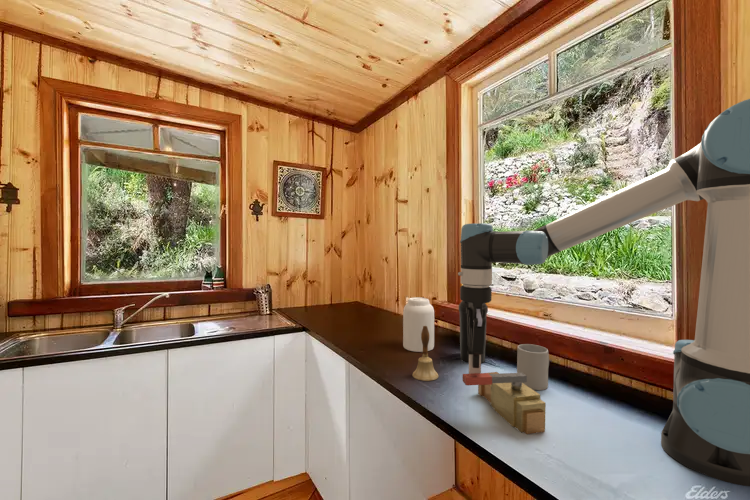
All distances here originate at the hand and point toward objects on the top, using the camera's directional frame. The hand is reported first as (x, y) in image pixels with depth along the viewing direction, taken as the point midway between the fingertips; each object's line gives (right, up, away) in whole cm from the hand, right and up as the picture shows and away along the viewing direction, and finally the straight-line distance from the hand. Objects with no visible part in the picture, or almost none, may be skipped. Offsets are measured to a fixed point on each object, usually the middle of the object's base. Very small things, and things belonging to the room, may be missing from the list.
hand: (474, 378), depth 83 cm
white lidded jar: (-7, -7, +51) cm, 52 cm away
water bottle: (+11, -8, +37) cm, 39 cm away
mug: (+24, -8, +17) cm, 31 cm away
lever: (+4, -2, -3) cm, 5 cm away
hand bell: (-9, -8, +23) cm, 26 cm away
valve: (+9, -9, +1) cm, 12 cm away
